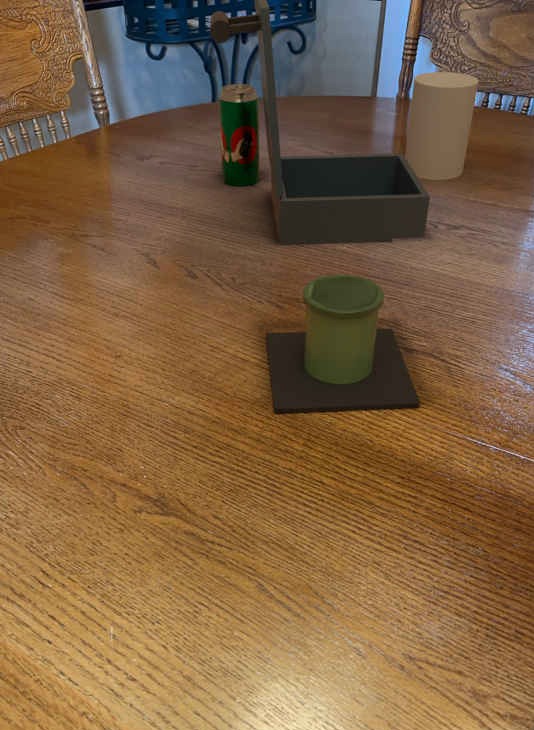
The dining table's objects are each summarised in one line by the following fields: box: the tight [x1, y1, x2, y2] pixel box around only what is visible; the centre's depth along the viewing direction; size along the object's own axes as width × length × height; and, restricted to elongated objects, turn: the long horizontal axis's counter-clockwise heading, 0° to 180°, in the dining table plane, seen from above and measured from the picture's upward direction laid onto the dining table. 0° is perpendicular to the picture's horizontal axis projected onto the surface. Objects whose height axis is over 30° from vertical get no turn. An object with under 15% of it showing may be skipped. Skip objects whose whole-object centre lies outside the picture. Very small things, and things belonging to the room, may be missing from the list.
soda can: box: [218, 83, 261, 188], centre depth 92 cm, size 5×5×12 cm
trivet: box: [265, 328, 421, 415], centre depth 62 cm, size 12×12×1 cm
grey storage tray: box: [270, 153, 431, 246], centre depth 84 cm, size 17×15×6 cm
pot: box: [302, 274, 385, 384], centre depth 59 cm, size 7×7×7 cm
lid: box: [209, 0, 284, 197], centre depth 76 cm, size 17×15×6 cm
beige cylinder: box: [404, 71, 479, 181], centre depth 94 cm, size 8×8×12 cm
